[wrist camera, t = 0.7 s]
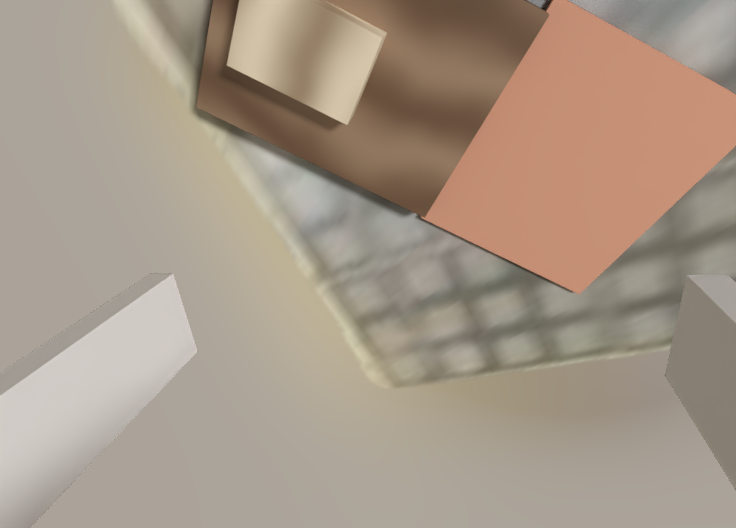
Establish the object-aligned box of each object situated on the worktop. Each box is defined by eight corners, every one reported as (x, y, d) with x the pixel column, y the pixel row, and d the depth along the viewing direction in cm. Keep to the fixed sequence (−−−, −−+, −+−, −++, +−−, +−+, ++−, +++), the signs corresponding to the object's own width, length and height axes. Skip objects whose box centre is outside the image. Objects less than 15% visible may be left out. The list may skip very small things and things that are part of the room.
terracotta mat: (555, -7, 27) (556, -6, 26) (765, 110, 28) (769, 113, 28) (421, 214, 38) (420, 217, 37) (578, 290, 39) (579, 294, 39)
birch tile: (239, 59, 31) (226, 65, 29) (258, -35, 27) (245, -34, 26) (353, 116, 32) (347, 125, 30) (387, 32, 28) (382, 38, 26)
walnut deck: (252, -152, 26) (238, -158, 24) (545, 10, 27) (549, 14, 26) (208, 99, 35) (195, 107, 34) (426, 206, 37) (424, 217, 36)
